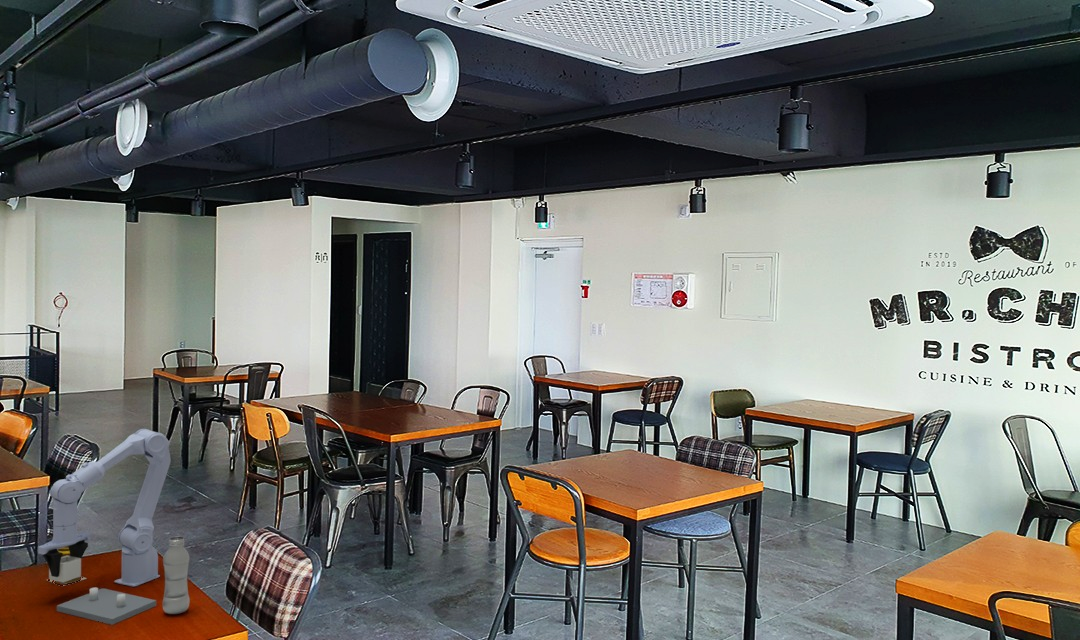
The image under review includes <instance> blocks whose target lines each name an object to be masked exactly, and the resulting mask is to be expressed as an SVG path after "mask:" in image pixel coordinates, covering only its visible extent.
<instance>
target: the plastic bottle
mask: <svg viewBox="0 0 1080 640" xmlns="http://www.w3.org/2000/svg"><path fill="white" fill-rule="evenodd" d="M184 545H185V537H184V536H172V537H169V539H168V547H169V548H168V549H167V550H166V552H165V553H164V555H163V558H162V563H163V569H164V594H163V599H162V605H161V606H162V611H164V613H165V614H168V615H179V614H183V613H185V612H186V611H187V610H188V609H189V606H190V603H191V602H190V595H189V589H188V570H189V563H190V559H191V558H190V554H189V552H188V550H187V549H186V547H184Z"/></svg>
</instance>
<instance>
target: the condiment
mask: <svg viewBox="0 0 1080 640" xmlns="http://www.w3.org/2000/svg"><path fill="white" fill-rule="evenodd" d="M57 551H58V552H61V553H63V554H62V557H64V556H70V551H69V547H68V546H66V547H63V548H60V549H57ZM80 577H81V580H80V581H78V580H79V579H80ZM80 577H77V578H74V579H72V580H69V581H66V582H59V581H56V582H57V583H60V584H67V583H72V582H75V583H77V582H76V581H78V582H81V581H84V580H87V577H84V576H82V575H81V576H80ZM82 577H83V578H82ZM46 581H48V579H46ZM52 581H53V580H50V581H48V582H50V583H52ZM54 582H55V581H54ZM54 582H53V583H52V584H55V583H54ZM72 584H73V583H72ZM64 586H65V585H63V586H62V587H64Z"/></svg>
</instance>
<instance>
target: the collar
mask: <svg viewBox="0 0 1080 640" xmlns="http://www.w3.org/2000/svg"><path fill="white" fill-rule="evenodd" d="M80 576H81V577H82V559H81V558H77V557H72V556H64V557H61V561H60V572H59V576H58V577H54V576H51V572H50V569H49V568H48V579H50V580H54V581H59V582H66V581H69V580H72V579H74V578H77V577H80Z"/></svg>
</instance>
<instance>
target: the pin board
mask: <svg viewBox="0 0 1080 640" xmlns="http://www.w3.org/2000/svg"><path fill="white" fill-rule="evenodd" d="M154 607H157V599H151V598H148V597H144V596H138V595H134V594H130V593H125V592H121V591H117V590H112V589H108V588H104V587H103V588H99V587H91V588H89V593H86V594H84V595H81V596H79V597H76V598H72V599H70V600H69V601H65V602H63V603H60V604H57V605H56V612H59V613H63V614H68V615H71V616H75V617H79V618H83V619H86V620H90V621H91V620H92V621H96V622H98V621H99V623H102V622H103V624H106V625H111V626H113V625H115V624H117V623H120V622H123V621H125V620H127V619H130V618H131V617H134V616H136V615H138V614H140V613H143V612H145V611H148V610H150V609H153V608H154Z"/></svg>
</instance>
